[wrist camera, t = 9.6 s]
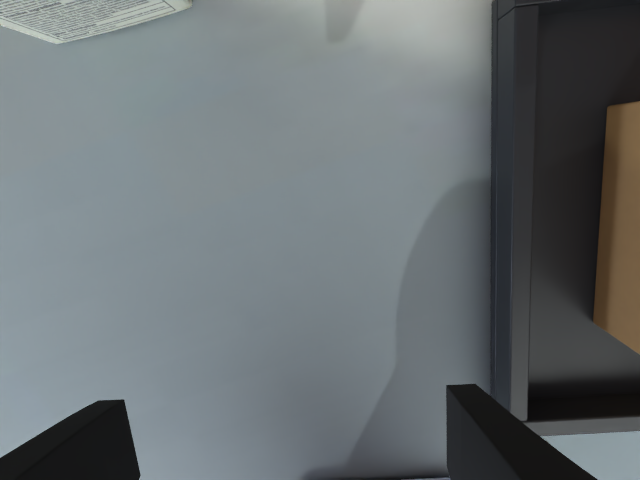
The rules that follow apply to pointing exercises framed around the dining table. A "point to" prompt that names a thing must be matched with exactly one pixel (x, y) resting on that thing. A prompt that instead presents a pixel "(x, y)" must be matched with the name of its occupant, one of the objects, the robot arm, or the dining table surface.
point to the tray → (556, 211)
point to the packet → (620, 228)
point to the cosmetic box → (81, 16)
